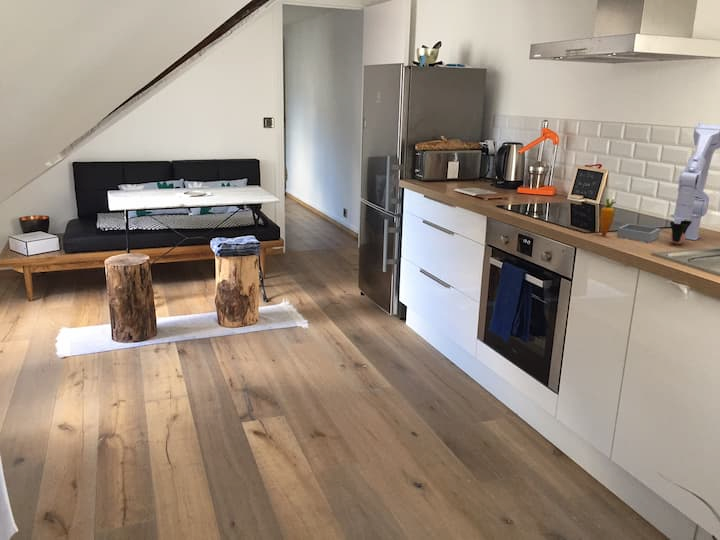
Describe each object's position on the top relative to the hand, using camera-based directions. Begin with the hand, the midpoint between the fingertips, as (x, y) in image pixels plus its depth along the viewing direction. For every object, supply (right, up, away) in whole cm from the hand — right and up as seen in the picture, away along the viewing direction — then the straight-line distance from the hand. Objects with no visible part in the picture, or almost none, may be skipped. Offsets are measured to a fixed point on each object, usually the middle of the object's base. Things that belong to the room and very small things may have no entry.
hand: (677, 240), depth 226 cm
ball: (0, +1, 0) cm, 1 cm away
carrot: (-25, +2, +7) cm, 26 cm away
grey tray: (-11, +2, +9) cm, 14 cm away
